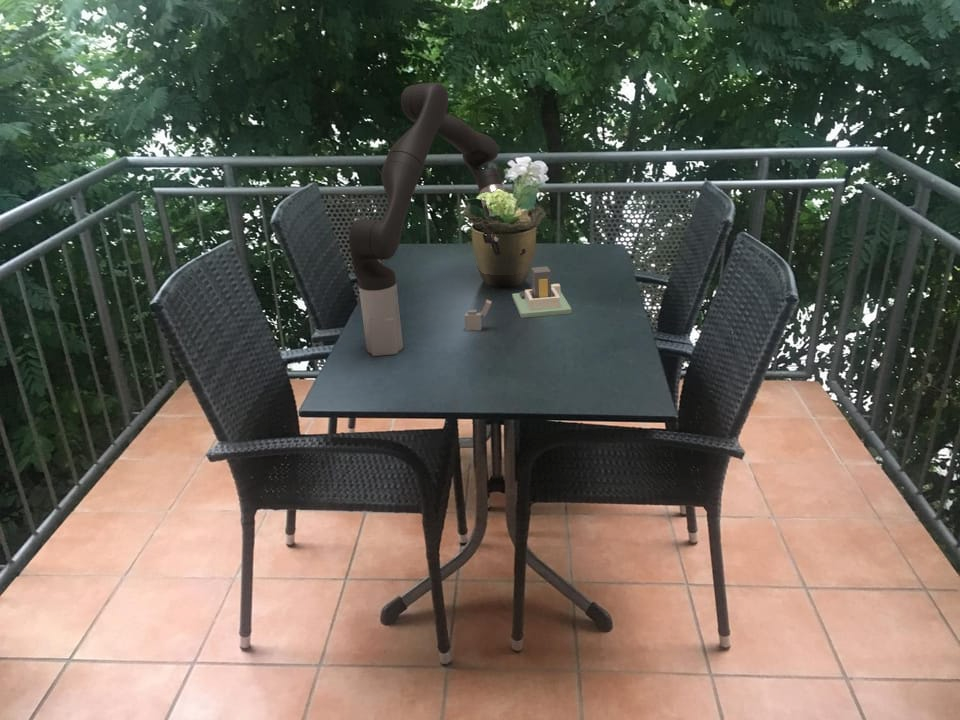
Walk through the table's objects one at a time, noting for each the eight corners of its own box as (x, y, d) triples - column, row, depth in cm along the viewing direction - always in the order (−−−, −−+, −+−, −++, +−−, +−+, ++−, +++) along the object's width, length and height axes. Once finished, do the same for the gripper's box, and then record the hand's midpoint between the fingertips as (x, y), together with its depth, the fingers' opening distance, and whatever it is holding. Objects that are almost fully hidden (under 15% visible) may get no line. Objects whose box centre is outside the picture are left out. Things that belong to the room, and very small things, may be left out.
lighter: (465, 330, 204) (464, 302, 201) (466, 328, 206) (464, 300, 202) (492, 329, 204) (491, 301, 200) (492, 327, 205) (491, 299, 202)
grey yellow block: (551, 306, 213) (551, 272, 209) (535, 308, 213) (534, 273, 209) (548, 300, 218) (547, 266, 214) (532, 301, 217) (531, 267, 213)
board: (571, 313, 211) (571, 298, 209) (521, 317, 210) (520, 303, 208) (559, 293, 226) (559, 279, 224) (512, 297, 225) (511, 284, 223)
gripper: (482, 197, 216) (498, 250, 213) (522, 197, 225) (537, 248, 222) (468, 209, 222) (484, 261, 220) (507, 209, 231) (523, 259, 228)
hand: (511, 255), depth 221 cm, fingers open, 8 cm apart
